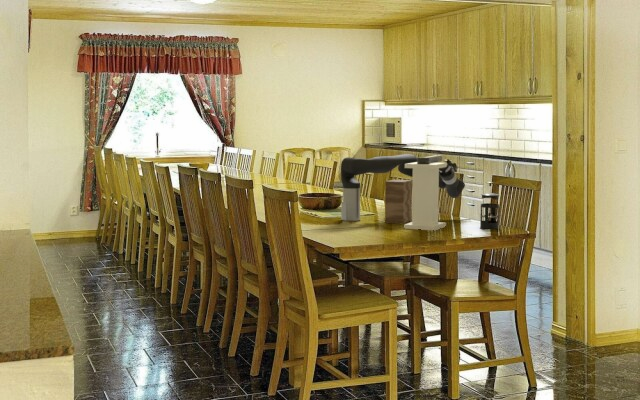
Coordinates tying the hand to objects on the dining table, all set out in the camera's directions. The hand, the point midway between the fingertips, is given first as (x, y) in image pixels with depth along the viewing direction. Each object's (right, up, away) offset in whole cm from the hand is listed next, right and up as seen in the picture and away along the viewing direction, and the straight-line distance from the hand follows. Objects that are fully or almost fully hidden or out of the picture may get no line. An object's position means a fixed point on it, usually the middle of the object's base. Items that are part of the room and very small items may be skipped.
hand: (439, 160), depth 428 cm
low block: (-20, -32, +10) cm, 39 cm away
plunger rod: (-6, -1, -9) cm, 11 cm away
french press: (+23, -34, -15) cm, 44 cm away
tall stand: (-9, -34, -12) cm, 37 cm away
